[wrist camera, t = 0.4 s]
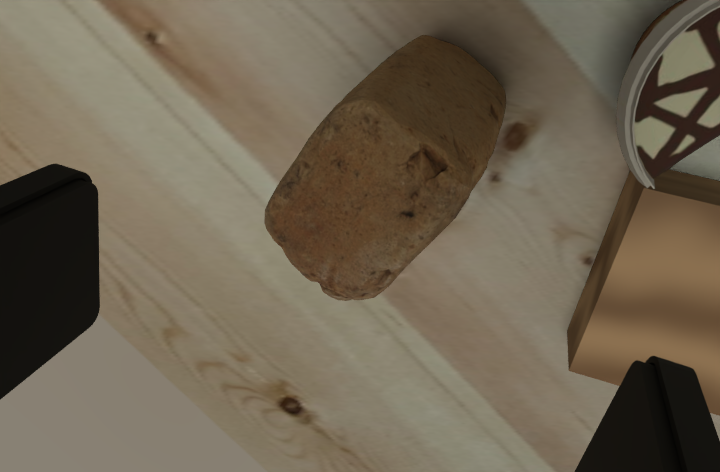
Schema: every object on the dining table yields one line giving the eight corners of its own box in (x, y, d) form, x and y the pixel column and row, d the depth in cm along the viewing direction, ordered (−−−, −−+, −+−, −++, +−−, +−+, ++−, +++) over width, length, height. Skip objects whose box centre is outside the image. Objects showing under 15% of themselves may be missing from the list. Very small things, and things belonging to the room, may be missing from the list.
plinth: (633, 161, 39) (643, 187, 35) (798, 199, 38) (829, 232, 33) (567, 330, 46) (568, 370, 42) (704, 369, 44) (720, 415, 40)
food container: (754, -90, 32) (828, -103, 24) (821, -2, 33) (916, 16, 24) (562, 69, 38) (566, 105, 30) (623, 140, 39) (644, 195, 30)
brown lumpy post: (438, 14, 39) (347, 68, 22) (523, 90, 39) (501, 202, 22) (342, 134, 44) (208, 254, 27) (418, 200, 45) (335, 359, 28)
